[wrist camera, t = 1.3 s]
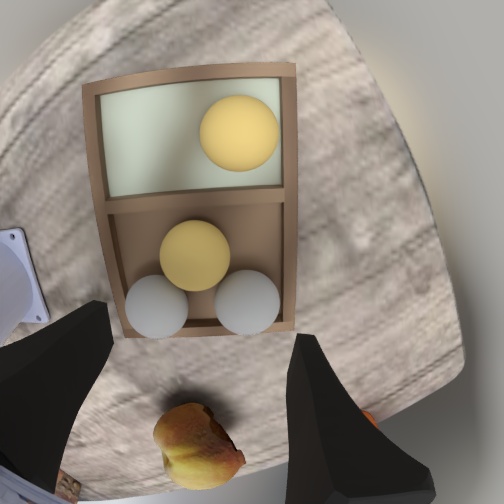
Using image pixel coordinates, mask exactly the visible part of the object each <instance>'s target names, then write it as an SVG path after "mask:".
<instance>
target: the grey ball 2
mask: <svg viewBox="0 0 504 504" xmlns="http://www.w3.org/2000/svg"><path fill="white" fill-rule="evenodd" d="M279 308H280V298H279V293H278V290H277V288H276V286H275V285H274V283H273V282H272V281H271V280H270V279H269V278H268V277H267V276H265V275H264V274H262V273H260V272H257V271H254V270H240V271H236V272H234V273H232V274H230V275H228V276H227V277H226V278H225V279H223V281H222V282H221V283H220V284H219V286H218V288H217V290H216V292H215V296H214V309H215V313H216V315H217V317H218V319H219V321H220V322H221V324H222V325H223V326H224V327H225V328H227V329H228V330H230V331H231V332H233V333H236V334H239V335H255V334H258V333H261V332H263V331H264V330H266V329H267V328H268V327H270V326H271V325H272V323H273V322H274V321H275V319H276V317H277V315H278V312H279Z"/></svg>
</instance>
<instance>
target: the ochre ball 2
mask: <svg viewBox="0 0 504 504" xmlns="http://www.w3.org/2000/svg"><path fill="white" fill-rule="evenodd" d="M278 140H279V126H278V122H277V119H276V117H275V115H274V113H273V112H272V110H271V109H270V108H269V107H268V106H267V105H266V104H265V103H263V102H262V101H260V100H259V99H256V98H254V97H251V96H246V95H233V96H228V97H225V98H223V99H221V100H219V101H217V102H216V103H215V104H213V105H212V106H211V107H210V108H209V109H208V111H207V112H206V114H205V115H204V117H203V119H202V122H201V125H200V142H201V146H202V148H203V151H204V152H205V154H206V155H207V157H208V158H209V159H210V160H211V161H212V162H213V163H214V164H216V165H217V166H219V167H220V168H223V169H225V170H228V171H233V172H245V171H250V170H253V169H256V168H258V167H260V166H261V165H263V164H264V163H265V162H266V161H267V160H269V158H270V157H271V156H272V155H273V153H274V151H275V149H276V147H277V144H278Z"/></svg>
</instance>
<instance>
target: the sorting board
mask: <svg viewBox="0 0 504 504" xmlns="http://www.w3.org/2000/svg"><path fill="white" fill-rule="evenodd" d="M233 95H246V96H251V97H254V98H256V99H259V100H260V101H262V102H263V103H265V104H266V105H267V106H268V107H269V108H270V109H271V110H272V112H273V113H274V115H275V117H276V119H277V122H278V126H279V140H278V144H277V147H276V149H275V151H274V153H273V155H272V156H271V157H270V158H269V160H267V161H266V162H265V163H264V164H263V165H261V166H260V167H258V168H256V169H253V170H250V171H245V172H233V171H228V170H225V169H223V168H220V167H219V166H217V165H216V164H214V163H213V162H212V161H211V160H210V159H209V158H208V157H207V155H206V154H205V152H204V151H203V148H202V146H201V142H200V125H201V122H202V119H203V117H204V115H205V114H206V112H207V111H208V109H209V108H210V107H211V106H212V105H213V104H215V103H216V102H217V101H219V100H221V99H223V98H225V97H228V96H233ZM82 100H83V117H84V130H85V141H86V151H87V160H88V168H89V176H90V183H91V190H92V196H93V203H94V209H95V215H96V220H97V226H98V231H99V236H100V241H101V246H102V251H103V255H104V260H105V264H106V269H107V273H108V277H109V281H110V285H111V289H112V293H113V297H114V301H115V304H116V308H117V312H118V315H119V319H120V322H121V326H122V329H123V332H124V336H125V338H148V337H145V336H143V335H141V334H140V333H138V332H137V331H136V330H135V329H134V328H133V327H132V326H131V324H130V323H129V321H128V318H127V316H126V311H125V301H126V297H127V294H128V292H129V290H130V288H131V287H132V286H133V285H134V284H135V283H136V282H137V281H138V280H140V279H141V278H143V277H146V276H149V275H163V276H166V275H165V274H164V272H163V270H162V267H161V264H160V248H161V244H162V242H163V240H164V238H165V236H166V235H167V233H168V232H169V231H170V230H171V229H172V228H173V227H175V226H176V225H178V224H180V223H182V222H185V221H190V220H199V221H204V222H207V223H210V224H212V225H214V226H215V227H216V228H218V229H219V230H220V231H221V232H222V234H223V235H224V236H225V238H226V240H227V242H228V245H229V249H230V263H229V267H228V269H227V272H226V274H225V275H224V277H223V278H222V279H221V280H220V281H219V282H218V283H217V284H216V285H214V286H213V287H211V288H209V289H206V290H202V291H187V290H184V289H183V290H184V292H185V294H186V297H187V300H188V315H187V319H186V321H185V323H184V325H183V326H182V328H181V329H180V330H179V331H178V332H177V333H175V334H174V335H172V336H170V337H201V336H223V335H239V334H236V333H233V332H231V331H230V330H228V329H227V328H225V327H224V326H223V325H222V324H221V322H220V321H219V319H218V317H217V315H216V313H215V309H214V296H215V292H216V290H217V288H218V286H219V284H220V283H221V282H222V281H223V279H225V278H226V277H227V276H228V275H230V274H232V273H234V272H236V271H240V270H254V271H257V272H260V273H262V274H264V275H265V276H267V277H268V278H269V279H270V280H271V281H272V282H273V283H274V285H275V286H276V288H277V290H278V293H279V298H280V308H279V312H278V315H277V317H276V319H275V321H274V322H273V323H272V325H271V326H270V327H268V328H267V329H266V330H264V331H263V332H261V333H269V332H281V331H292V330H294V325H295V301H296V272H297V228H298V130H297V88H296V63H231V64H213V65H200V66H189V67H180V68H171V69H163V70H156V71H149V72H143V73H137V74H131V75H125V76H120V77H115V78H110V79H105V80H100V81H96V82H91V83H87V84H83V85H82ZM167 338H168V337H167Z"/></svg>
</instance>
